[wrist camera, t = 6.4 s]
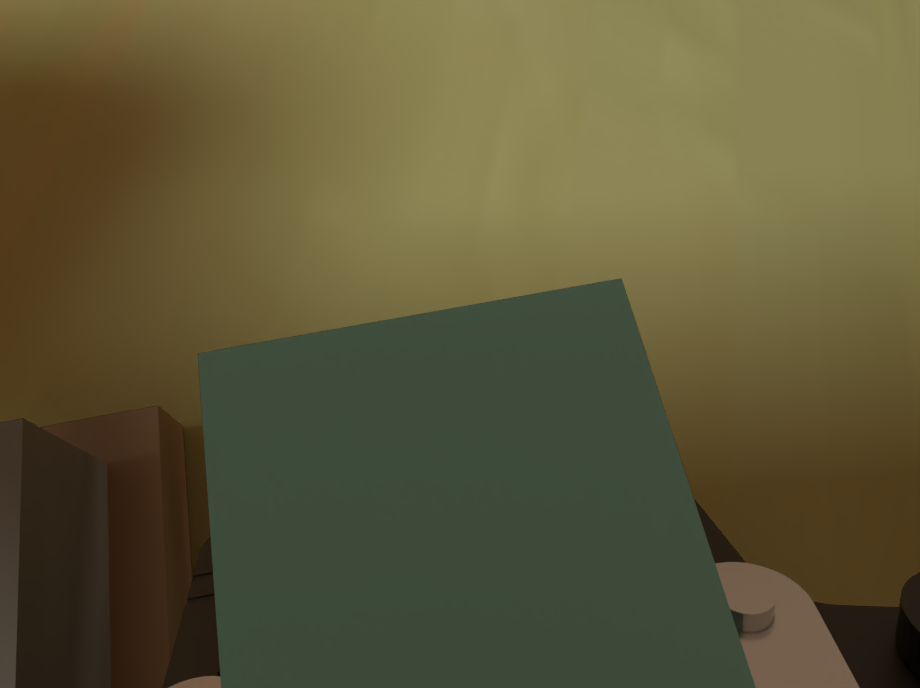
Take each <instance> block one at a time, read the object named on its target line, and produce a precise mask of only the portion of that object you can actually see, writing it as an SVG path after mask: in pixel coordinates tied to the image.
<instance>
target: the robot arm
mask: <svg viewBox="0 0 920 688" xmlns="http://www.w3.org/2000/svg"><path fill="white" fill-rule="evenodd" d="M694 501H695V504H696V507H697V510H698V513H699V516H700V519H701V522H702V525H703V528H704V531H705V534H706V538H707V541H708V544H709V547H710V550H711V553H712V556H713V559H714V562H715V565H716V568H717V571H718V574H719V577H720V580H721V583H722V586H723V589H724V592H725V595H726V598H727V601H728V604H729V608H730V611H731V614H732V617H733V620H734V623H735V626H736V629H737V632H738V635H739V638H740V641H741V644H742V647H743V650H744V653H745V656H746V659H747V662H748V665H749V668H750V671H751V674H752V678H753V681H754V684H755V687H756V688H920V573H918V574H916V575H914V576H913V577H911V578H910V579H909V580H908V581H907V582H906V583H905V585H904V587H903V589H902V593H901V599H900V606H899V607H875V606H847V605H831V604H823V603H818V602H813V601H812V599H811V598H810V596H809V595H808V594H807V593H806V592H805V591H804V590H803V589H802V587H800V586H799V585H798V584H797V583H795V582H794V581H793V580H791V579H790V578H788V577H786V576H785V575H783V574H781V573H779V572H776V571H774V570H772V569H769V568H766V567H763V566H760V565H755V564H750V563H746V562H745V561H744V560H743V559H742V557H741V556H740V555H739V554H738V552H737V551H736V550H735V549H734V547H733V546H732V545H731V544H730V542H729V541H728V540H727V539H726V537H725V536H724V535H723V534H722V533H721V531H720V530H719V529H718V528H717V526H716V525H715V524H714V523H713V521H712V520H711V519H710V518H709V516H708V515H707V514H706V513H705V511H704V510H703V509H702V508H701V507H700V505H699V504H698V503H697V502H696V500H695V499H694ZM193 577H194V581H192V582H191V586H190V589H189V593H188V597H187V605H185V607H184V611H183V615H182V618H181V622H180V625H179V629H178V633H177V636H176V640H175V644H174V647H173V651H172V654H171V658H170V662H169V665H168V669H167V672H166V676H165V680H164V683H163V687H162V688H221V678H220V664H219V650H218V636H217V621H216V607H215V593H214V579H213V565H212V550H211V537H210V538H209V539H208V540H207V541H206V543H205V544H204V545H203V546H202V548H201V550H200V553H199V557H198V560H197V564H196V568H195V571H194V575H193Z"/></svg>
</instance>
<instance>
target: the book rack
mask: <svg viewBox="0 0 920 688" xmlns="http://www.w3.org/2000/svg"><path fill="white" fill-rule="evenodd" d="M191 582H192V567H191V550H190V534H189V517H188V500H187V484H186V467H185V451H184V434H183V426H182V425H180V424H179V423H178V422H177V421H176V420H175V419H173V418H172V417H171V416H170V415H169V414H167V413H166V412H165V411H164V410H163V409H161V408H160V407H159V406H152V407H147V408H141V409H136V410H130V411H125V412H119V413H114V414H109V415H103V416H98V417H92V418H87V419H81V420H76V421H70V422H65V423H59V424H54V425H49V426H43V427H38V426H36V425H35V424H33V423H31V422H29V421H27V420H25V419H23V418H22V419H16V420H11V421H5V422H0V688H162V687H163V683H164V680H165V676H166V672H167V669H168V665H169V662H170V658H171V654H172V651H173V647H174V644H175V640H176V636H177V633H178V629H179V625H180V622H181V618H182V615H183V611H184V607H185V605H187V597H188V593H189V589H190V586H191Z"/></svg>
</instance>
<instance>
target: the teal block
mask: <svg viewBox="0 0 920 688" xmlns="http://www.w3.org/2000/svg"><path fill="white" fill-rule="evenodd" d="M198 366H199V380H200V394H201V409H202V423H203V437H204V451H205V465H206V479H207V494H208V508H209V522H210V536H211V550H212V565H213V579H214V593H215V607H216V621H217V636H218V650H219V664H220V678H221V688H756V687H755V684H754V681H753V678H752V674H751V671H750V668H749V665H748V662H747V659H746V656H745V653H744V650H743V647H742V644H741V641H740V638H739V635H738V632H737V629H736V626H735V623H734V620H733V617H732V614H731V611H730V608H729V604H728V601H727V598H726V595H725V592H724V589H723V586H722V583H721V580H720V577H719V574H718V571H717V568H716V565H715V562H714V559H713V556H712V553H711V550H710V547H709V544H708V541H707V538H706V534H705V531H704V528H703V525H702V522H701V519H700V516H699V513H698V510H697V507H696V504H695V501H694V498H693V495H692V492H691V489H690V486H689V483H688V480H687V477H686V474H685V471H684V467H683V464H682V461H681V458H680V455H679V452H678V449H677V446H676V443H675V440H674V437H673V434H672V431H671V428H670V425H669V422H668V419H667V416H666V413H665V410H664V407H663V404H662V401H661V397H660V394H659V391H658V388H657V385H656V382H655V379H654V376H653V373H652V370H651V367H650V364H649V361H648V358H647V355H646V352H645V349H644V346H643V343H642V340H641V337H640V334H639V331H638V327H637V324H636V321H635V318H634V315H633V312H632V309H631V306H630V303H629V300H628V297H627V294H626V291H625V288H624V285H623V282H622V279H615V280H610V281H604V282H598V283H593V284H587V285H581V286H576V287H570V288H564V289H559V290H553V291H547V292H542V293H536V294H530V295H525V296H519V297H514V298H508V299H502V300H497V301H491V302H485V303H480V304H474V305H468V306H463V307H457V308H451V309H446V310H440V311H434V312H429V313H423V314H417V315H412V316H406V317H400V318H395V319H389V320H384V321H378V322H372V323H367V324H361V325H355V326H350V327H344V328H338V329H333V330H327V331H321V332H316V333H310V334H304V335H299V336H293V337H287V338H282V339H276V340H270V341H265V342H259V343H254V344H248V345H242V346H237V347H231V348H225V349H220V350H214V351H208V352H203V353H198Z"/></svg>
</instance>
